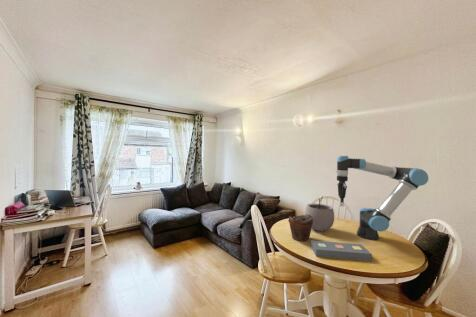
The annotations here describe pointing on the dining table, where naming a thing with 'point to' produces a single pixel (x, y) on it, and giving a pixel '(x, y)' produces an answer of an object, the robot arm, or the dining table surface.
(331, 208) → the plant pot
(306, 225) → the brown tapered container
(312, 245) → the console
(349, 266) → the dining table surface
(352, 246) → the ochre button
